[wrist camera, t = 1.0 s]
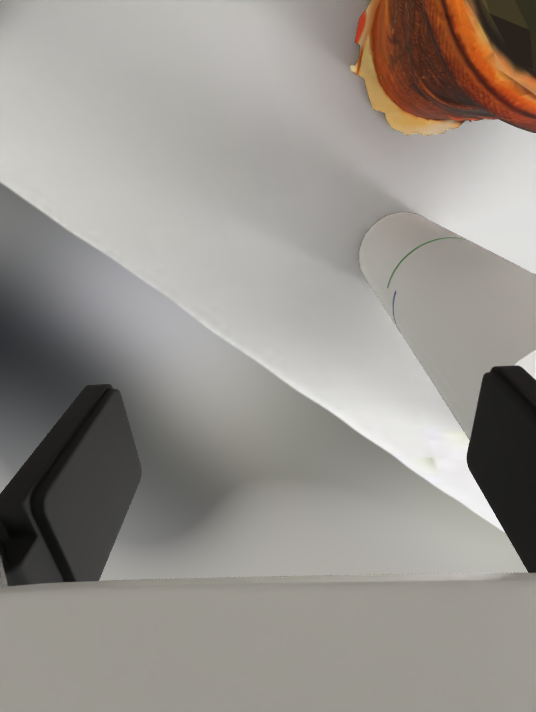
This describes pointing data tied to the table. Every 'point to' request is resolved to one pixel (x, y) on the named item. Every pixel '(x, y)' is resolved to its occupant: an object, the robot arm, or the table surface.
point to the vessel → (449, 62)
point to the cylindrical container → (451, 305)
